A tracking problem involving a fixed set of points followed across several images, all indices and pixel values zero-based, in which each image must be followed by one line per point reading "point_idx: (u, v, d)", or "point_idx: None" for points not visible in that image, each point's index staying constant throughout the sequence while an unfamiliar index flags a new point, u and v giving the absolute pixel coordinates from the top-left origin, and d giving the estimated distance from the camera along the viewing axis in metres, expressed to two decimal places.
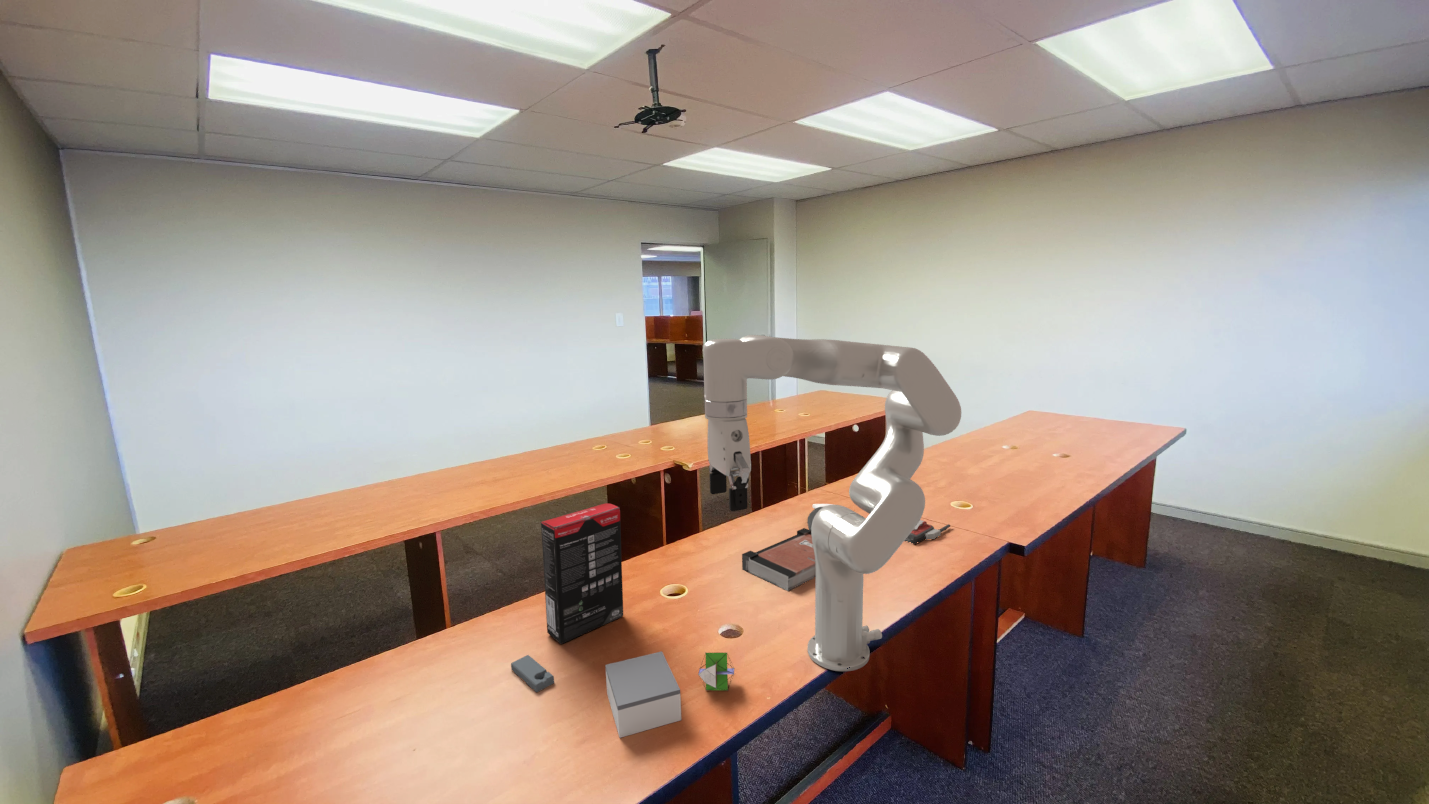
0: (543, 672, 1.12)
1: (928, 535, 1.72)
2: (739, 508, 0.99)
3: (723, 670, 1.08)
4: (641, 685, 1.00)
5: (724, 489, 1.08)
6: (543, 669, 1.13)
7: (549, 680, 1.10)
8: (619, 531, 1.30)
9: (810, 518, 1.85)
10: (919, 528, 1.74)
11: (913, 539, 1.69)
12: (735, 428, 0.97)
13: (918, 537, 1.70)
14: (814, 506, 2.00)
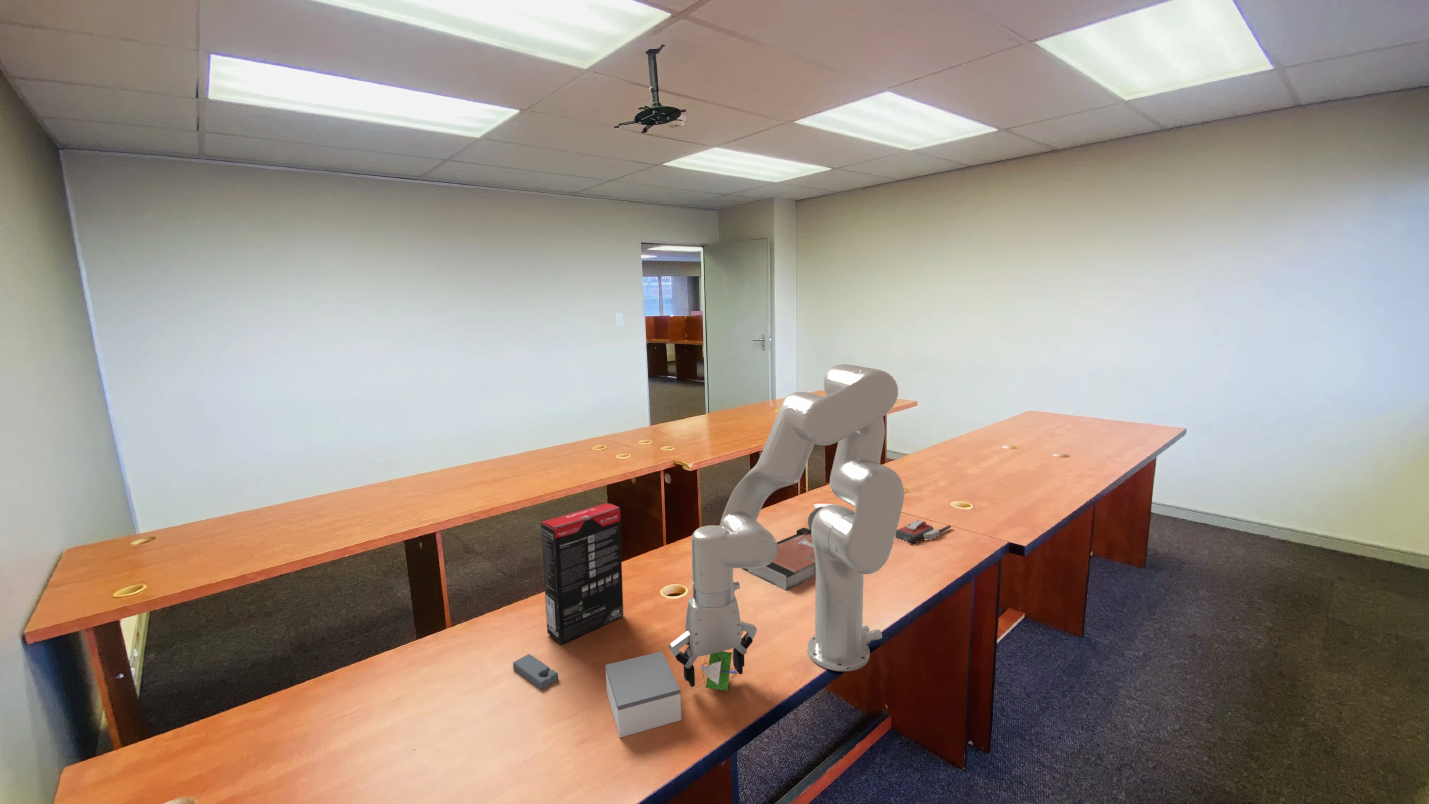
0: (547, 670, 1.13)
1: (926, 535, 1.72)
2: None
3: (725, 670, 1.08)
4: (641, 685, 1.00)
5: None
6: (546, 667, 1.13)
7: (553, 677, 1.11)
8: (619, 531, 1.30)
9: (811, 518, 1.86)
10: (918, 528, 1.74)
11: (910, 539, 1.70)
12: None
13: (916, 537, 1.70)
14: (815, 506, 2.01)
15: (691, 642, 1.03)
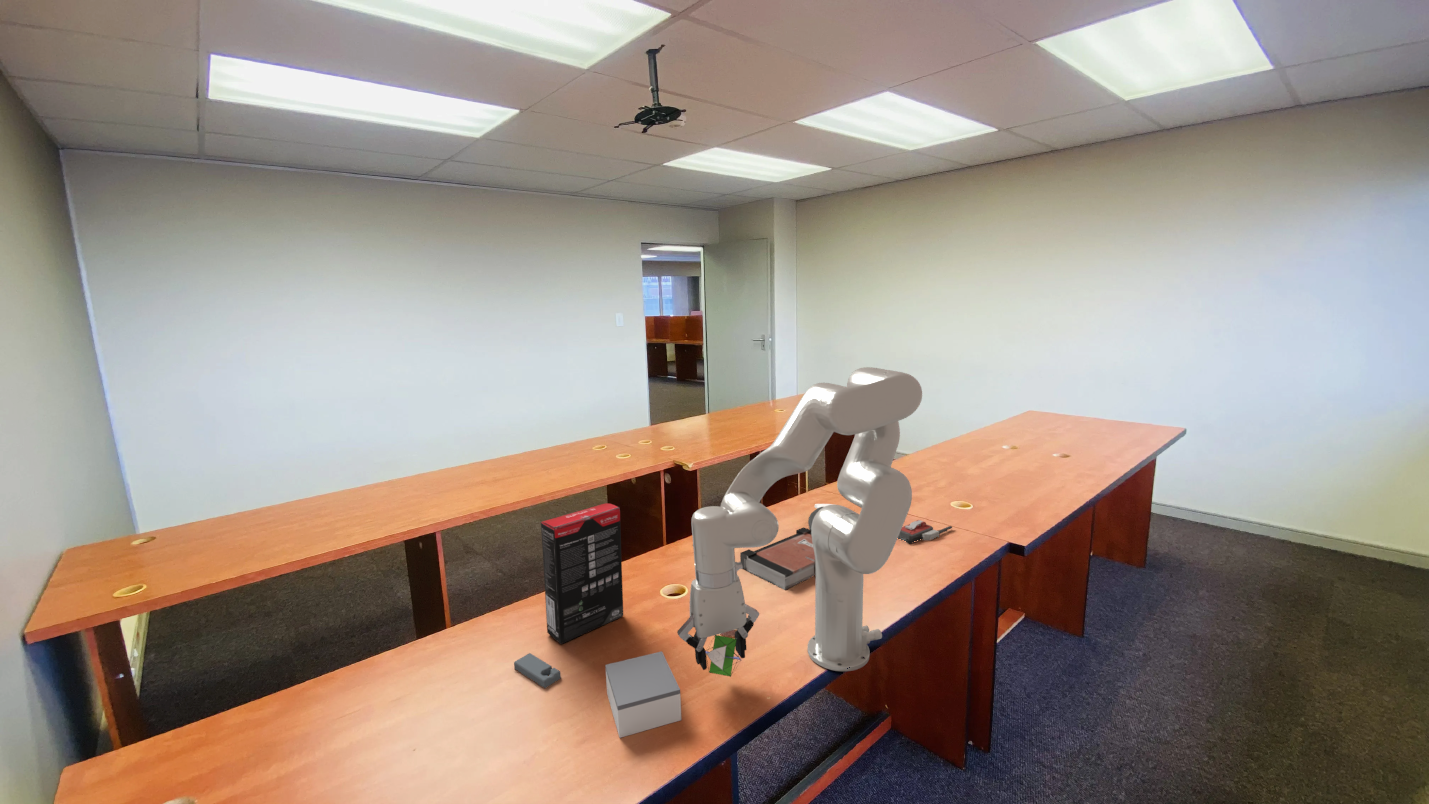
0: (549, 668, 1.13)
1: (925, 535, 1.72)
2: None
3: (729, 655, 1.08)
4: (641, 685, 1.00)
5: None
6: (548, 665, 1.14)
7: (556, 675, 1.11)
8: (619, 531, 1.30)
9: (811, 518, 1.86)
10: (917, 528, 1.74)
11: (908, 538, 1.70)
12: None
13: (914, 537, 1.70)
14: (816, 506, 2.01)
15: (696, 624, 1.03)
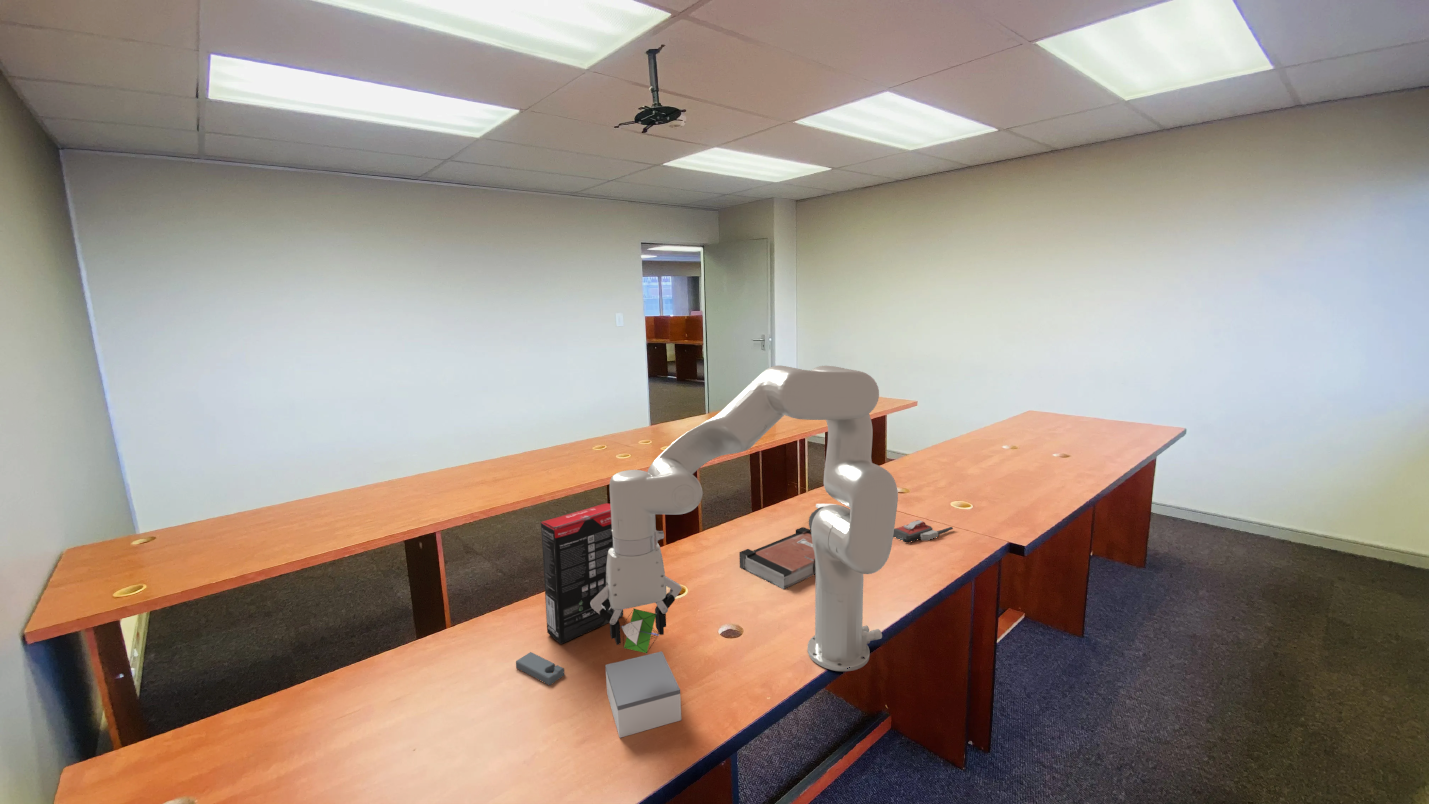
0: (552, 666, 1.14)
1: (923, 535, 1.72)
2: None
3: (647, 631, 1.01)
4: (641, 685, 1.00)
5: None
6: (551, 663, 1.14)
7: (560, 672, 1.12)
8: None
9: (811, 517, 1.86)
10: (916, 528, 1.74)
11: (906, 538, 1.70)
12: None
13: (911, 536, 1.71)
14: (817, 506, 2.01)
15: (610, 594, 0.96)
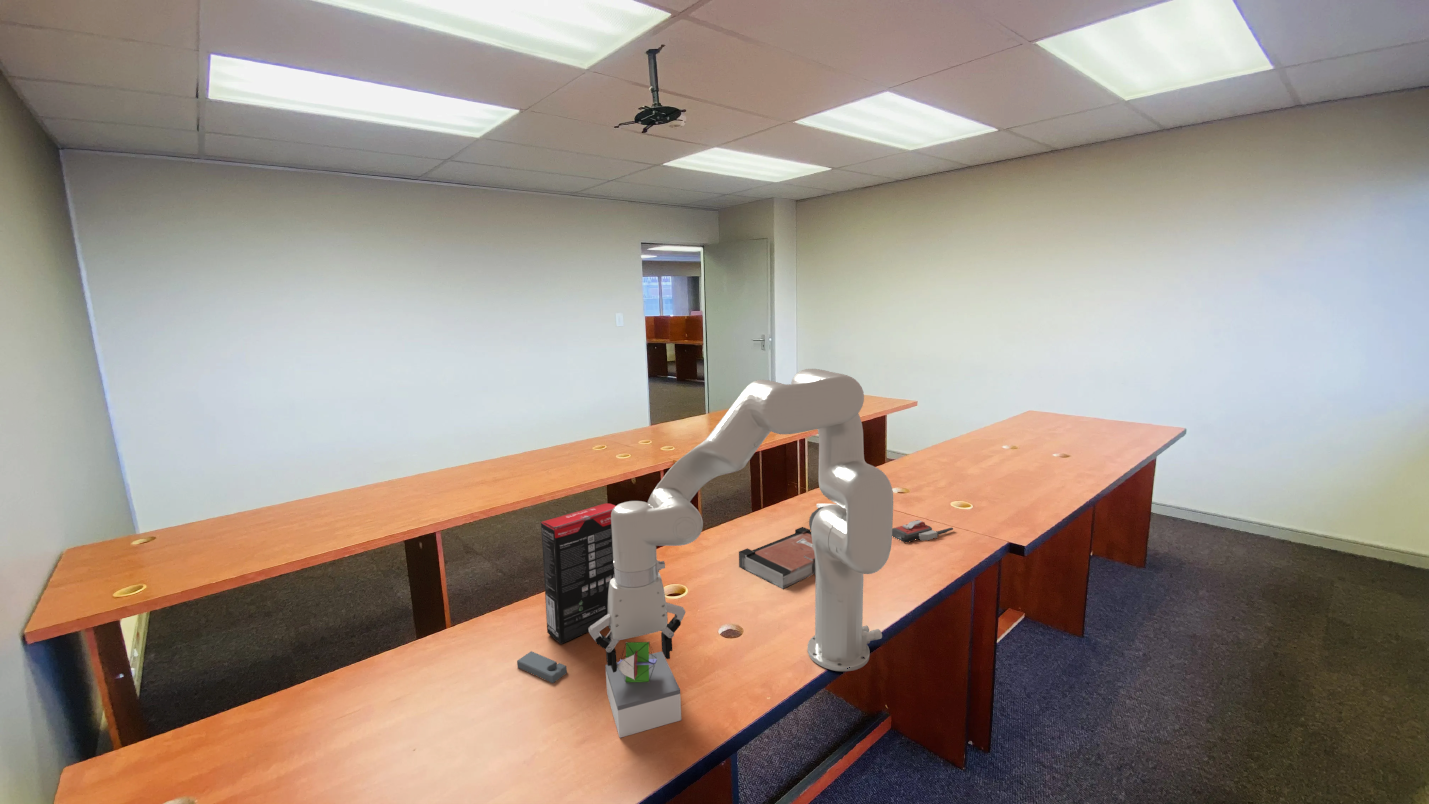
0: (554, 664, 1.14)
1: (922, 535, 1.72)
2: None
3: (644, 661, 1.02)
4: (641, 685, 1.00)
5: None
6: (553, 661, 1.15)
7: (563, 670, 1.13)
8: None
9: (812, 517, 1.86)
10: (915, 528, 1.74)
11: (904, 537, 1.71)
12: None
13: (909, 536, 1.71)
14: (818, 506, 2.01)
15: (611, 624, 0.97)
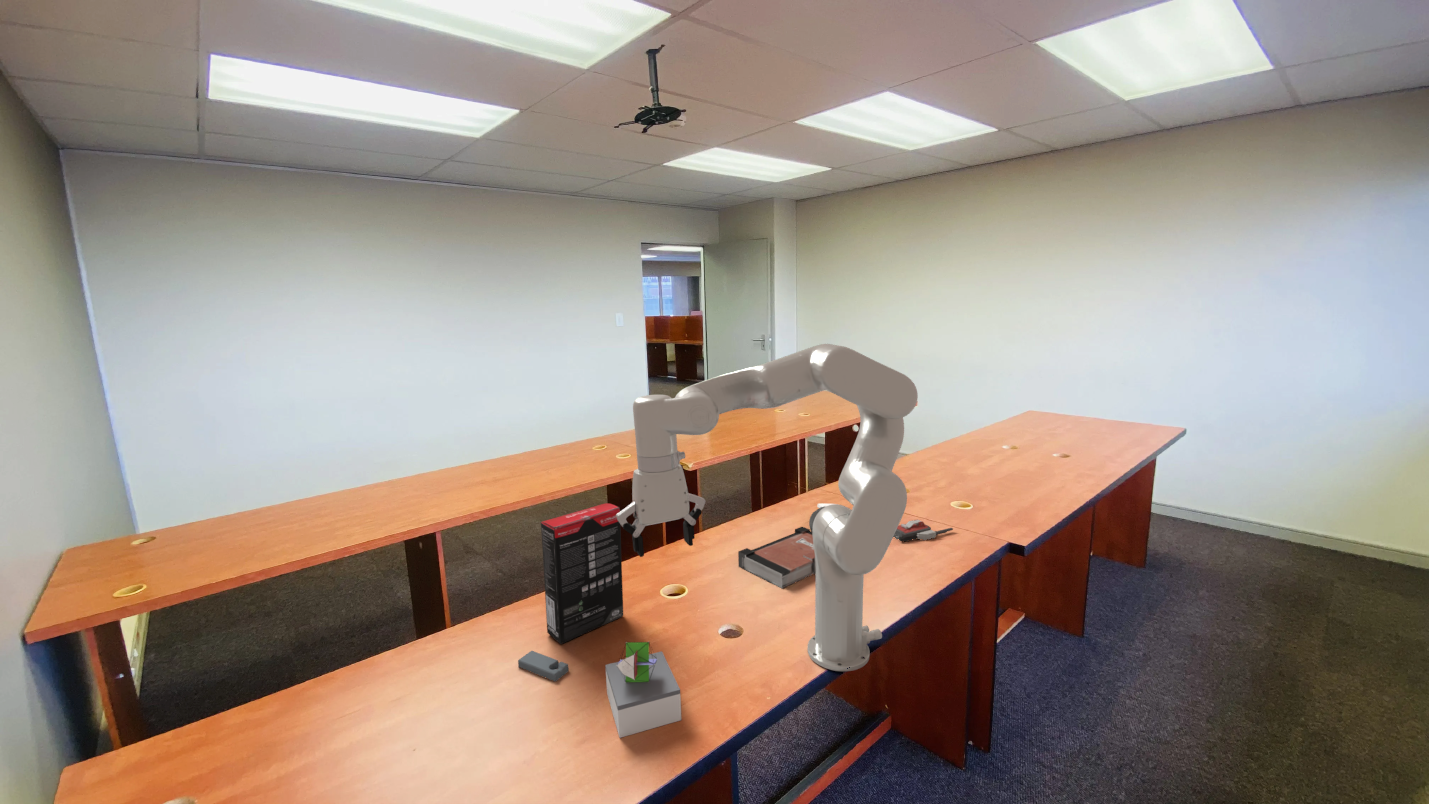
0: (556, 663, 1.15)
1: (920, 535, 1.72)
2: None
3: (644, 661, 1.02)
4: (641, 685, 1.00)
5: None
6: (555, 660, 1.15)
7: (565, 668, 1.13)
8: (619, 531, 1.30)
9: (812, 517, 1.86)
10: (913, 527, 1.75)
11: (901, 537, 1.71)
12: None
13: (907, 535, 1.71)
14: (819, 506, 2.01)
15: (637, 510, 1.03)
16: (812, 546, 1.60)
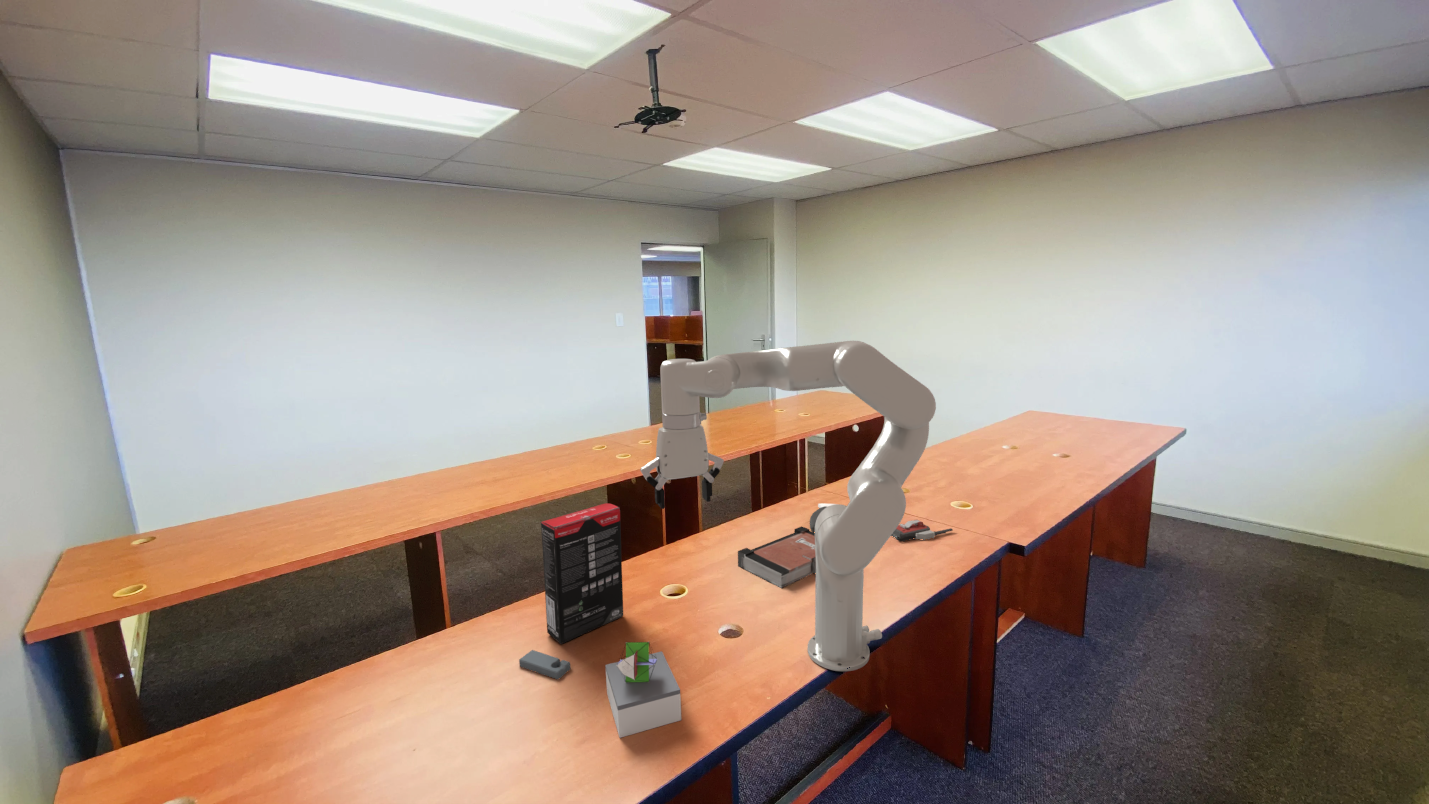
0: (557, 661, 1.15)
1: (918, 535, 1.72)
2: None
3: (644, 661, 1.02)
4: (641, 685, 1.00)
5: None
6: (556, 658, 1.16)
7: (567, 666, 1.14)
8: (619, 531, 1.30)
9: (812, 517, 1.86)
10: (912, 527, 1.75)
11: (900, 536, 1.72)
12: None
13: (905, 535, 1.72)
14: (819, 505, 2.01)
15: (661, 464, 1.11)
16: (811, 546, 1.60)
